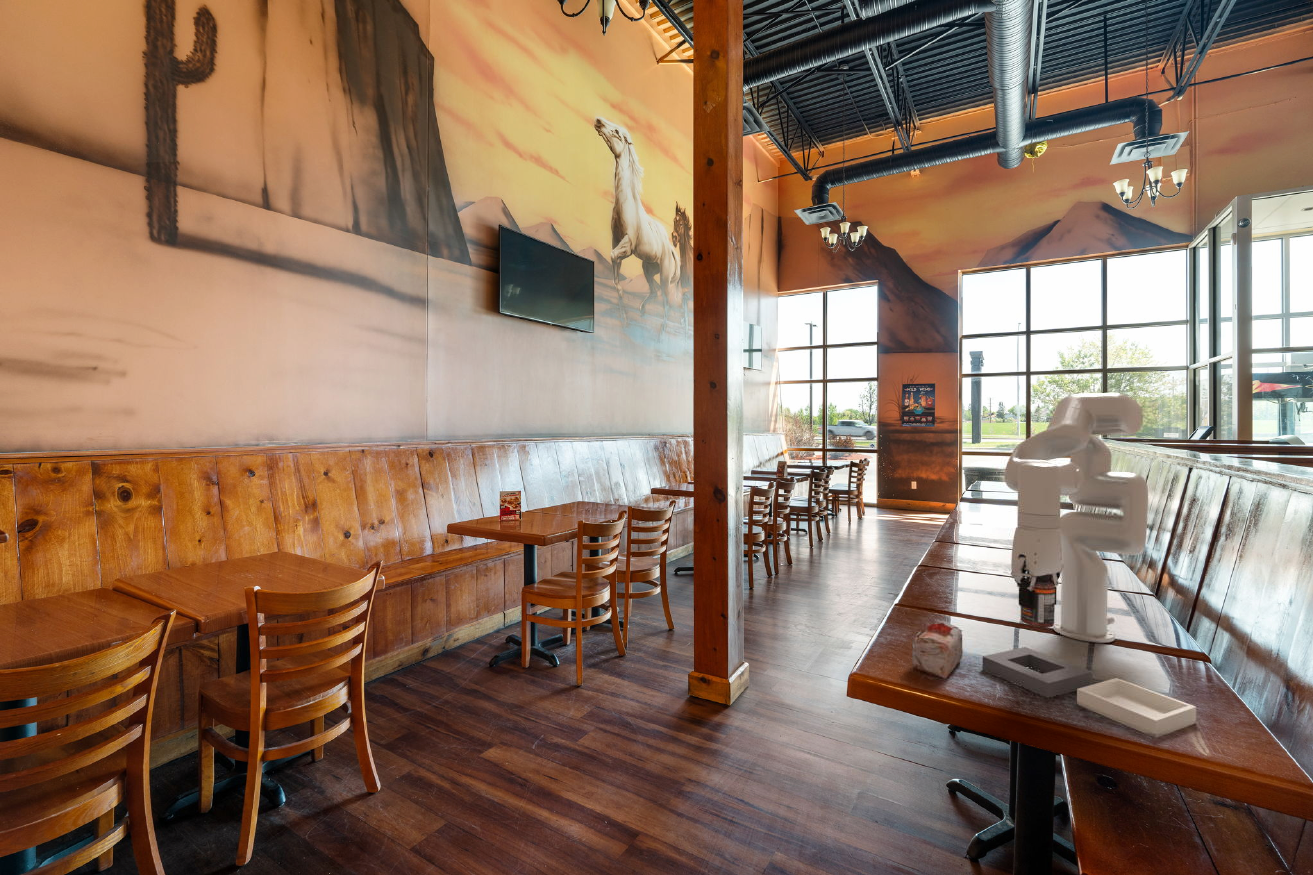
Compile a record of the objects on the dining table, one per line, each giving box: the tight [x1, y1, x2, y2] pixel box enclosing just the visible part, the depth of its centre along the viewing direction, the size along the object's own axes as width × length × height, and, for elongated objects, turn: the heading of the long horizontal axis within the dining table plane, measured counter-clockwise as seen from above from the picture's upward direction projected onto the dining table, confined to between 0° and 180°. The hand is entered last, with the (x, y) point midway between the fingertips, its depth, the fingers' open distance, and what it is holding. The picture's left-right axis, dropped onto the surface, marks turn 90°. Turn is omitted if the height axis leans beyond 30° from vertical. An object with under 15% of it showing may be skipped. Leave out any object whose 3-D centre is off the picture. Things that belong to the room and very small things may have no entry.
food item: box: [911, 620, 963, 679], centre depth 125 cm, size 14×8×10 cm, turn 139°
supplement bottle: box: [1020, 571, 1056, 629], centre depth 120 cm, size 6×6×11 cm
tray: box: [1076, 677, 1197, 739], centre depth 105 cm, size 13×13×3 cm
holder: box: [982, 646, 1093, 699], centre depth 120 cm, size 14×14×3 cm
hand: (1037, 604), depth 120 cm, fingers closed on supplement bottle, 6 cm apart
